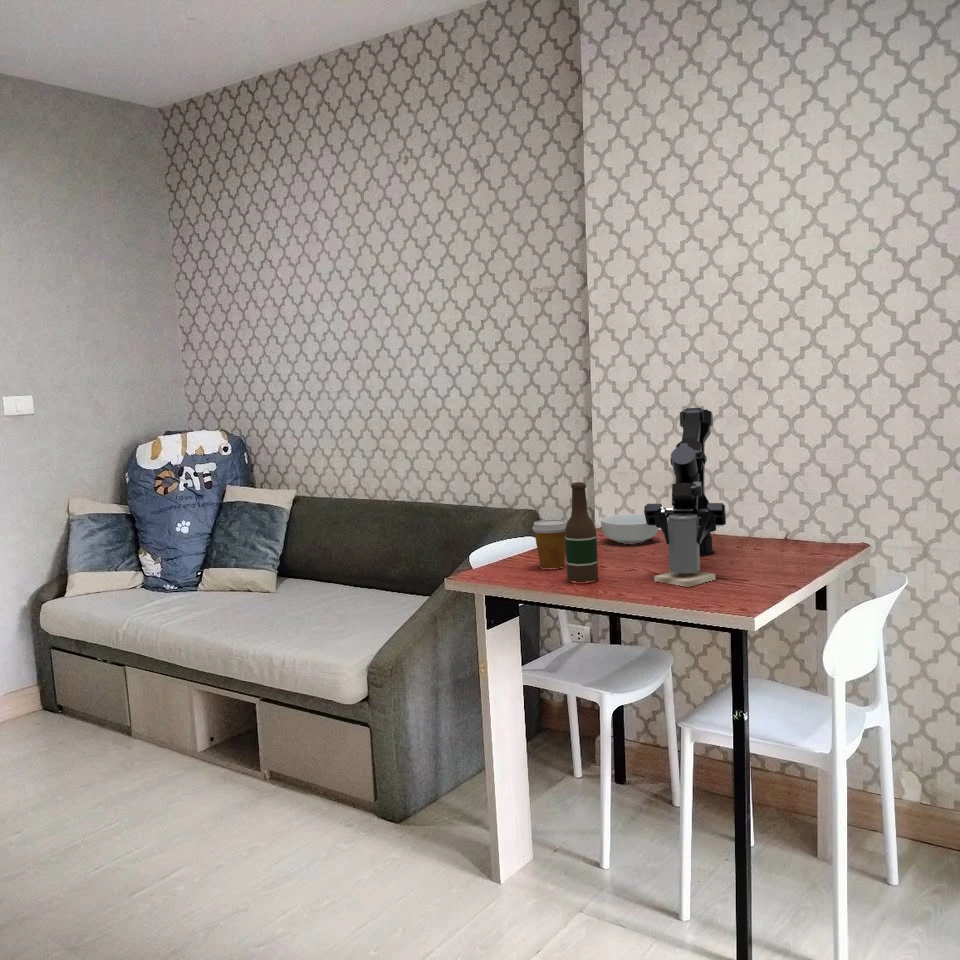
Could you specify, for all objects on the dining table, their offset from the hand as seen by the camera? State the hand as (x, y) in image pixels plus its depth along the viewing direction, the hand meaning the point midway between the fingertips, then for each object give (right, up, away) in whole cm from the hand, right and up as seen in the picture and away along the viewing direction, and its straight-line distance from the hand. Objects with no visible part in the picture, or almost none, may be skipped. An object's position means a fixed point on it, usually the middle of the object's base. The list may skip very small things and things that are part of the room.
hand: (683, 543), depth 222 cm
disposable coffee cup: (-29, -8, +26) cm, 40 cm away
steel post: (+1, -8, +2) cm, 8 cm away
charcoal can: (+1, -6, +2) cm, 7 cm away
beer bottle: (-22, -10, +9) cm, 26 cm away
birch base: (+1, -9, +2) cm, 9 cm away
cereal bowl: (-3, -4, +55) cm, 55 cm away
